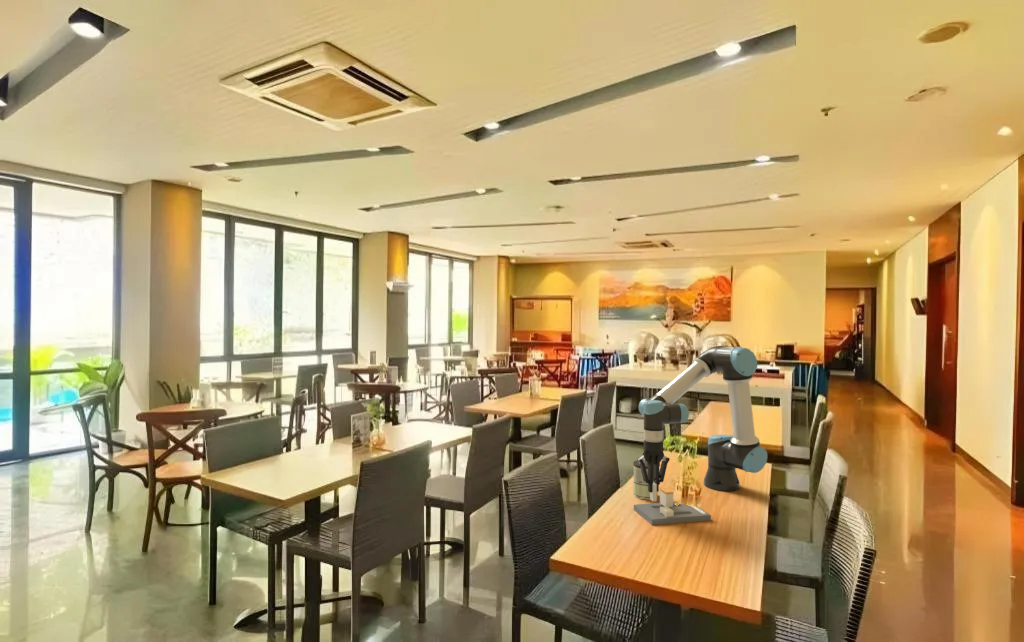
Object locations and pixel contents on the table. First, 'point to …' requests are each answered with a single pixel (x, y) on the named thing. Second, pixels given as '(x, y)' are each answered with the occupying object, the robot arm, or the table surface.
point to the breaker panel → (674, 519)
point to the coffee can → (641, 482)
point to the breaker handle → (666, 497)
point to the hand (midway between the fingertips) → (653, 500)
